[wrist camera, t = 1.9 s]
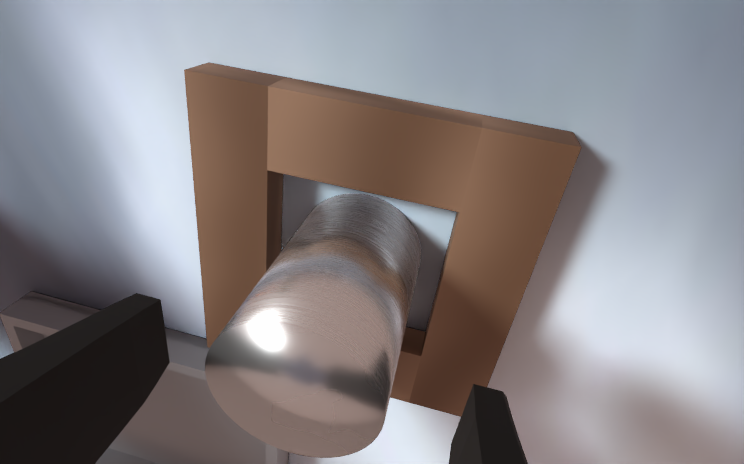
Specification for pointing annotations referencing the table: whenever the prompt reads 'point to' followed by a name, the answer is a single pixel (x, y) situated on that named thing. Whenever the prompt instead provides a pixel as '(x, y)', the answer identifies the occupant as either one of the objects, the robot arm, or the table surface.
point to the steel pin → (321, 331)
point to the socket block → (383, 177)
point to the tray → (155, 397)
